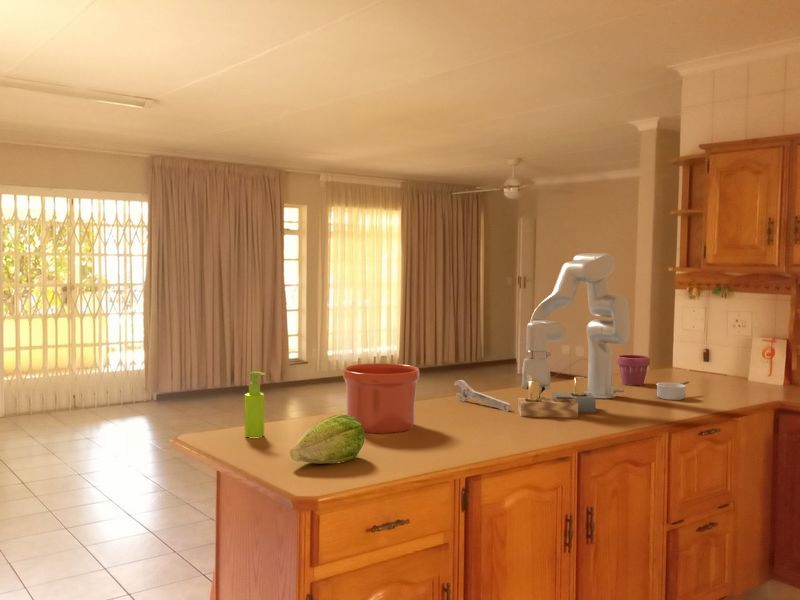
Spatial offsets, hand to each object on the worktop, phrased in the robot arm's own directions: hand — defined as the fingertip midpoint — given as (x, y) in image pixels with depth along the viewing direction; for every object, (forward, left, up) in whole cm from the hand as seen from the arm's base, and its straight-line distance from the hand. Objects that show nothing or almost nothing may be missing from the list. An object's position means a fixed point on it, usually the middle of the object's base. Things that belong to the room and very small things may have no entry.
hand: (535, 404), depth 265 cm
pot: (+55, +34, -2) cm, 65 cm away
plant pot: (-52, -61, -2) cm, 80 cm away
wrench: (+20, -5, -2) cm, 20 cm away
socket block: (-14, 0, -2) cm, 14 cm away
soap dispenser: (+92, +52, -2) cm, 106 cm away
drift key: (-7, 0, -1) cm, 7 cm away
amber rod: (+2, +10, -2) cm, 10 cm away
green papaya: (+66, +78, -2) cm, 102 cm away
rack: (-3, +10, -2) cm, 11 cm away
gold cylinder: (-16, 0, -2) cm, 16 cm away
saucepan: (-61, -30, -2) cm, 68 cm away
